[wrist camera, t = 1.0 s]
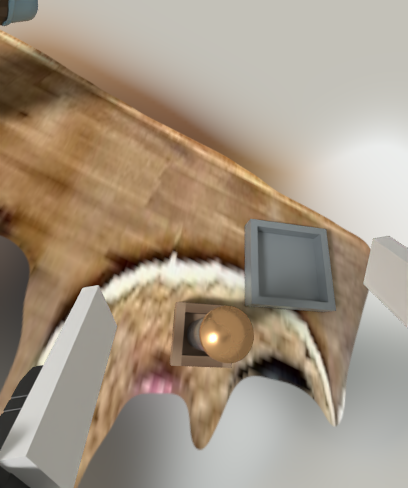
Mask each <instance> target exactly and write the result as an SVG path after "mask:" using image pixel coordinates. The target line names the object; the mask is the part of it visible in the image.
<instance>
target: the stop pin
mask: <svg viewBox="0 0 408 488" xmlns="http://www.w3.org/2000/svg"><path fill="white" fill-rule="evenodd" d="M187 339H188V342H189V343H190V345H191V346H192V347H194V348H195V349H198V350H201V351H205V352H206V353H207V354H208V355H209V356H210V357H211V358H213V359H214V360H217V361H219V362H223V363H235V362H237V361H240V360H241V359H243V358H244V357H245V356H246V355H247V354H248V353H249V351H250V349H251V347H252V344H253V340H254V331H253V327H252V324H251V321H250V320H249V318H248V317H247V315H246V314H245V313H244V312H243V311H241V310H240V309H238V308H236V307H233V306H221V307H218V308H215V309H213V310H211V311H210V312H209V313H208V314H207V315H206V316H205V317H204V318H201V319H198V320H195V321H194V322H192V323H191V324H190V326H189V327H188V330H187Z"/></svg>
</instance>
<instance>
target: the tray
mask: <svg viewBox="0 0 408 488" xmlns="http://www.w3.org/2000/svg"><path fill="white" fill-rule="evenodd" d="M245 306H253V307H266V308H278V309H291V310H303V311H316V312H330V311H336V306H335V298H334V290H333V282H332V274H331V265H330V257H329V249H328V241H327V233H326V229H321V228H313V227H306V226H299V225H292V224H285V223H277V222H270V221H263V220H256V219H250V220H249V221H248V223H247V224H246V225H245Z"/></svg>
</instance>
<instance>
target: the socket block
mask: <svg viewBox="0 0 408 488" xmlns="http://www.w3.org/2000/svg"><path fill="white" fill-rule="evenodd" d="M221 306H222V305H210V304H197V303H184V302H176V304H175V312H174V323H173V334H172V345H171V356H170V364H171V366H197V367H223V368H232V363H223V362H219V361H217V360H214V359H213V358H211V357H210V356H209V355H208V354H207V353H206V352H205V351H201V350H198V349H195V348H194V347H192V346H191V345H190V343H189V342H188V339H187V330H188V327H189V326H190V324H191V323H192V322H194V321H195V320H198V319H201V318H204V317H205V316H206V315H207V314H208V313H209V312H210V311H211V310H213V309H215V308H218V307H221Z"/></svg>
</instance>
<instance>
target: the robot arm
mask: <svg viewBox="0 0 408 488" xmlns="http://www.w3.org/2000/svg"><path fill="white" fill-rule="evenodd" d="M37 10H38V0H0V25H2V26H7V25H9V24H10V23H15V22H23V21H29V20H32V19H33V18H34V17H35V15H36V13H37ZM363 284H364V285H365V286H366V287H367V288H368V289H369V290H370V291H371V292H372V293H373V294H374V295H375V296H376V297H377V298H378V299H379V300H380V301H381V302H382V303H383V304H384V305H385V306H386V307H387V308H388V309H389V310H390V311H391V312H392V313H393V314H394V315H395V316H396V317H397V318H398V319H399V320H400V321H401V322H402V323H403V324H404V325H405V326H406V327H407V328H408V248H407V247H405V246H404V245H402V244H401V243H399V242H397V241H396V240H395V239H393V238H391V237H390V236H386V237H380V238H374V239H373V241H372V246H371V251H370V255H369V260H368V264H367V269H366V274H365V278H364V283H363ZM116 328H117V325H116V322H115V320H114V318H113V316H112V314H111V311H110V309H109V307H108V305H107V302H106V300H105V298H104V296H103V294H102V291H101V289H100V287H99V285H97V286H91V287H86V288H82V290H81V292H80V294H79V296H78V298H77V300H76V302H75V304H74V306H73V308H72V310H71V312H70V314H69V316H68V318H67V320H66V322H65V324H64V326H63V328H62V330H61V332H60V334H59V336H58V338H57V340H56V342H55V344H54V346H53V348H52V350H51V352H50V353H49V355H48V357H47V359H46V361H45V363H44V365H42V366H36V367H33V368H32V369H31V370H30V371H29V372H28V373H27V374H26V375H25V376H24V377H23V378H22V380H21V381H20V382H19V384H18V386H17V387H16V389H15V391H14V393H13V395H12V396H11V400H9V402H8V403H7V405H6V407H5V409H4V413H3V414H1V416H0V488H73V487H74V484H75V480H76V476H77V473H78V469H79V465H80V462H81V458H82V454H83V450H84V447H85V443H86V439H87V436H88V432H89V428H90V425H91V421H92V417H93V413H94V410H95V406H96V402H97V399H98V395H99V391H100V387H101V384H102V380H103V376H104V373H105V369H106V365H107V362H108V358H109V354H110V350H111V347H112V343H113V339H114V336H115V332H116Z"/></svg>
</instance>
